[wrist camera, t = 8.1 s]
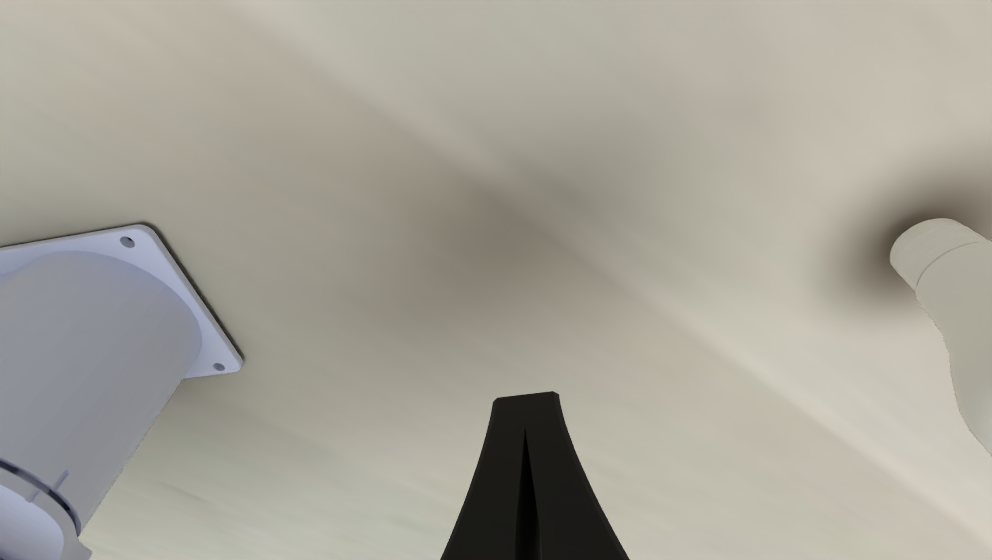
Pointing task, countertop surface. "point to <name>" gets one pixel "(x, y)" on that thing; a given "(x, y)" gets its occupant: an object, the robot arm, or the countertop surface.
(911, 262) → the lightbulb
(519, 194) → the countertop surface
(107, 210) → the countertop surface
